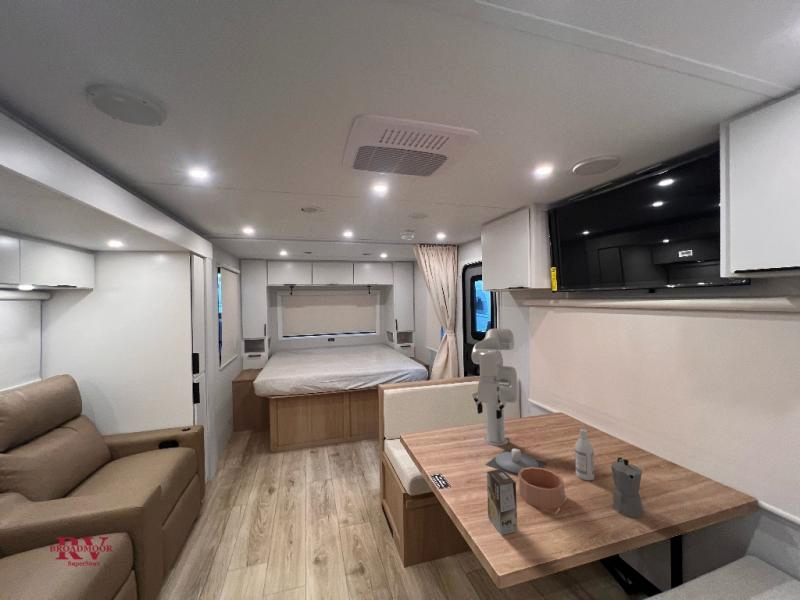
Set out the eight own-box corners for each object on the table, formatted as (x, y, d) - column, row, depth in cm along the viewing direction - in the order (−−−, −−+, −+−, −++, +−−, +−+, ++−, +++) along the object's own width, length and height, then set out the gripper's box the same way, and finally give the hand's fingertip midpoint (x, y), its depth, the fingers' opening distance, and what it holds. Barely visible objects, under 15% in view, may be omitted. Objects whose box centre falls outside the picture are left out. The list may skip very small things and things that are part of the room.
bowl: (528, 479, 131) (527, 463, 131) (569, 495, 120) (568, 477, 120) (512, 496, 119) (511, 478, 120) (556, 515, 108) (555, 495, 109)
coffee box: (518, 531, 101) (517, 482, 101) (501, 535, 99) (499, 485, 100) (503, 513, 110) (501, 468, 110) (486, 516, 108) (485, 471, 109)
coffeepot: (651, 525, 103) (648, 471, 103) (617, 518, 106) (615, 466, 107) (634, 498, 117) (633, 451, 118) (606, 493, 121) (604, 447, 121)
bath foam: (588, 472, 136) (586, 427, 137) (598, 481, 129) (596, 433, 130) (572, 472, 136) (571, 427, 137) (581, 481, 129) (580, 433, 130)
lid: (506, 450, 157) (505, 438, 157) (544, 463, 144) (544, 449, 144) (488, 464, 143) (487, 451, 144) (529, 479, 130) (528, 465, 130)
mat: (505, 450, 158) (505, 449, 158) (547, 463, 144) (547, 463, 144) (485, 465, 143) (485, 464, 143) (530, 482, 129) (530, 481, 129)
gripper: (509, 380, 138) (510, 418, 138) (476, 374, 151) (477, 409, 151) (501, 383, 133) (502, 422, 133) (468, 377, 146) (468, 413, 145)
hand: (489, 415), depth 142 cm, fingers open, 9 cm apart
